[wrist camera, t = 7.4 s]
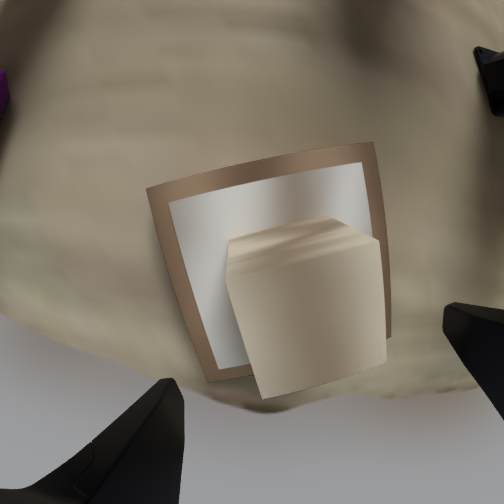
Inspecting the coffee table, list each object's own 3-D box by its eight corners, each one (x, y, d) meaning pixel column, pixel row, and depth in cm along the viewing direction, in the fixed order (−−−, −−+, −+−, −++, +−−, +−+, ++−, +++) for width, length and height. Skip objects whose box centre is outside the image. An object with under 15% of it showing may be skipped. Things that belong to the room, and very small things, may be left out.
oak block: (325, 214, 15) (379, 240, 9) (340, 302, 16) (386, 362, 10) (229, 239, 15) (224, 281, 9) (253, 325, 16) (262, 399, 10)
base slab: (352, 146, 17) (374, 141, 14) (373, 317, 20) (391, 338, 17) (160, 186, 17) (144, 188, 14) (211, 356, 20) (207, 384, 17)
